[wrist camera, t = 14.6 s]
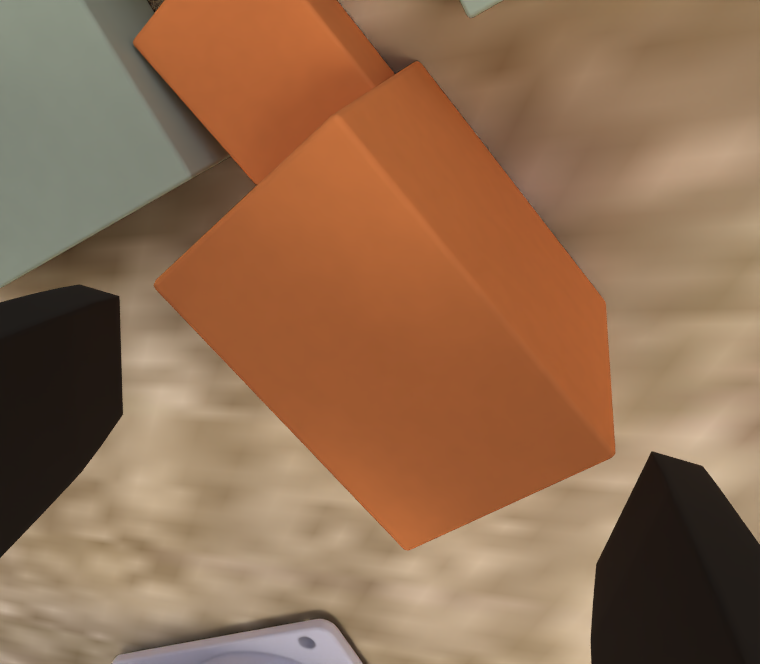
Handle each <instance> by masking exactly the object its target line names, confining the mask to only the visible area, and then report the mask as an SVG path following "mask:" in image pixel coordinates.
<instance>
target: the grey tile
mask: <svg viewBox="0 0 760 664" xmlns="http://www.w3.org/2000/svg"><path fill="white" fill-rule="evenodd" d="M501 1H503V0H460V2H461V4H462V6H463V9H464V11H465V13H466V15H467V16H468V17H469V18H473V17H475V16H477V15H479V14H480V13H482V12H484V11H486V10H487V9H489V8H491V7H492V6H494V5H496V4H498V3H499V2H501ZM153 14H154V11H153V9H152V8H151V6H150V4H149V3H148V1H147V0H0V288H2V287H4V286H5V285H7V284H9V283H10V282H12V281H14V280H16V279H17V278H19V277H21V276H23V275H24V274H26V273H28V272H30V271H31V270H33V269H35V268H37V267H38V266H40V265H42V264H44V263H45V262H47V261H49V260H51V259H52V258H54V257H56V256H58V255H59V254H61V253H63V252H65V251H66V250H68V249H70V248H72V247H73V246H75V245H77V244H79V243H80V242H82V241H84V240H86V239H87V238H89V237H91V236H93V235H94V234H96V233H98V232H100V231H101V230H103V229H105V228H107V227H108V226H110V225H112V224H114V223H115V222H117V221H119V220H121V219H122V218H124V217H126V216H127V215H129V214H131V213H133V212H134V211H136V210H138V209H140V208H141V207H143V206H145V205H147V204H148V203H150V202H152V201H154V200H155V199H157V198H159V197H161V196H162V195H164V194H166V193H168V192H169V191H171V190H173V189H175V188H176V187H178V186H180V185H182V184H183V183H185V182H187V181H189V180H190V179H192V178H194V177H196V176H197V175H199V174H201V173H203V172H204V171H206V170H208V169H209V168H211V167H213V166H215V165H216V164H218V163H220V162H222V161H223V160H225V159H227V158H229V157H230V155H229V153H228V152H227V151H226V150H225V149H224V148H223V147H222V145H221V144H220V143H219V142H218V141H217V140H216V139H215V137H214V136H213V135H212V134H211V133H210V132H209V131H208V129H207V128H206V127H205V126H204V125H203V124H202V123H201V121H200V120H199V119H198V118H197V117H196V116H195V115H194V114H193V112H192V111H191V110H190V109H189V108H188V107H187V106H186V104H185V103H184V102H183V101H182V100H181V99H180V98H179V96H178V95H177V94H176V93H175V92H174V91H173V90H172V88H171V87H170V86H169V85H168V84H167V83H166V82H165V80H164V79H163V78H162V77H161V76H160V75H159V74H158V72H157V71H156V70H155V69H154V68H153V67H152V66H151V64H150V63H149V62H148V61H147V60H146V59H145V58H144V56H143V55H142V54H141V53H140V52H139V51H138V50H137V48H136V47H135V46H134V44H133V40H134V38H135V37H136V36H137V35H138V33H139V32H140V31H141V30H142V28H143V27H144V26H145V25H146V23H147V22H148V21H149V19H150V18H151V17H152V16H153Z"/></svg>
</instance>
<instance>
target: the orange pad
mask: <svg viewBox="0 0 760 664" xmlns="http://www.w3.org/2000/svg"><path fill="white" fill-rule="evenodd" d="M133 44H134V46H135V47H136V48H137V50H138V51H139V52H140V53H141V54H142V55H143V56H144V58H145V59H146V60H147V61H148V62H149V63H150V64H151V66H152V67H153V68H154V69H155V70H156V71H157V72H158V74H159V75H160V76H161V77H162V78H163V79H164V80H165V82H166V83H167V84H168V85H169V86H170V87H171V88H172V90H173V91H174V92H175V93H176V94H177V95H178V96H179V98H180V99H181V100H182V101H183V102H184V103H185V104H186V106H187V107H188V108H189V109H190V110H191V111H192V112H193V114H194V115H195V116H196V117H197V118H198V119H199V120H200V121H201V123H202V124H203V125H204V126H205V127H206V128H207V129H208V131H209V132H210V133H211V134H212V135H213V136H214V137H215V139H216V140H217V141H218V142H219V143H220V144H221V145H222V147H223V148H224V149H225V150H226V151H227V152H228V153H229V155H230V156H231V157H232V158H233V159H234V160H235V161H236V163H237V164H238V165H239V166H240V167H241V168H242V169H243V171H244V172H245V173H246V174H247V175H248V176H249V177H250V179H251V180H252V181H253V182H254V183H255V184H256V185H257V186H256V187H255V188H253V189H252V190H251V191H250V192H249V193H248V194H247V195H246V196H245V197H244V198H243V199H242V200H241V201H240V202H239V203H237V204H236V205H235V206H234V207H233V208H232V209H231V210H230V211H229V212H228V213H227V214H226V215H225V216H224V217H223V218H221V219H220V220H219V221H218V222H217V223H216V224H215V225H214V226H213V227H212V228H211V229H210V230H209V231H208V232H207V233H205V234H204V235H203V236H202V237H201V238H200V239H199V240H198V241H197V242H196V243H195V244H194V245H193V246H192V247H191V248H189V249H188V250H187V251H186V252H185V253H184V254H183V255H182V256H181V257H180V258H179V259H178V260H177V261H176V262H175V263H173V264H172V265H171V266H170V267H169V268H168V269H167V270H166V271H165V272H164V273H163V274H162V275H161V276H160V277H159V278H157V279H156V281H155V284H154V287H155V289H156V290H157V291H158V292H159V293H160V294H161V295H162V296H163V298H164V299H165V300H166V301H167V302H168V303H169V304H170V305H171V306H172V307H173V308H174V309H175V310H176V311H177V312H178V313H179V314H180V315H181V316H182V317H183V318H184V319H185V321H186V322H187V323H188V324H189V325H190V326H191V327H192V328H193V329H194V330H195V331H196V332H197V333H198V334H199V335H200V336H201V337H202V338H203V339H204V340H205V341H206V343H207V344H208V345H209V346H210V347H211V348H212V349H213V350H214V351H215V352H216V353H217V354H218V355H219V356H220V357H221V358H222V359H223V360H224V361H225V362H226V363H227V365H228V366H229V367H230V368H231V369H232V370H233V371H234V372H235V373H236V374H237V375H238V376H239V377H240V378H241V379H242V380H243V381H244V382H245V383H246V384H247V385H248V387H249V388H250V389H251V390H252V391H253V392H254V393H255V394H256V395H257V396H258V397H259V398H260V399H261V400H262V401H263V402H264V403H265V404H266V405H267V406H268V407H269V408H270V410H271V411H272V412H273V413H274V414H275V415H276V416H277V417H278V418H279V419H280V420H281V421H282V422H283V423H284V424H285V425H286V426H287V427H288V428H289V429H290V430H291V432H292V433H293V434H294V435H295V436H296V437H297V438H298V439H299V440H300V441H301V442H302V443H303V444H304V445H305V446H306V447H307V448H308V449H309V450H310V451H311V452H312V454H313V455H314V456H315V457H316V458H317V459H318V460H319V461H320V462H321V463H322V464H323V465H324V466H325V467H326V468H327V469H328V470H329V471H330V472H331V473H332V474H333V475H334V477H335V478H336V479H337V480H338V481H339V482H340V483H341V484H342V485H343V486H344V487H345V488H346V489H347V490H348V491H349V492H350V493H351V494H352V495H353V496H354V497H355V499H356V500H357V501H358V502H359V503H360V504H361V505H362V506H363V507H364V508H365V509H366V510H367V511H368V512H369V513H370V514H371V515H372V516H373V517H374V518H375V519H376V521H377V522H378V523H379V524H380V525H381V526H382V527H383V528H384V529H385V530H386V531H387V532H388V533H389V534H390V535H391V536H392V537H393V538H394V539H395V540H396V541H397V542H398V544H399V545H400V546H401V547H402V548H403V549H405V550H411V549H413V548H415V547H417V546H420V545H422V544H424V543H426V542H428V541H431V540H433V539H435V538H437V537H439V536H441V535H444V534H446V533H448V532H450V531H452V530H455V529H457V528H459V527H461V526H463V525H466V524H468V523H470V522H472V521H474V520H476V519H479V518H481V517H483V516H485V515H487V514H490V513H492V512H494V511H496V510H498V509H500V508H503V507H505V506H507V505H509V504H511V503H514V502H516V501H518V500H520V499H522V498H525V497H527V496H529V495H531V494H533V493H535V492H538V491H540V490H542V489H544V488H546V487H549V486H551V485H553V484H555V483H557V482H559V481H562V480H564V479H566V478H568V477H570V476H573V475H575V474H577V473H579V472H581V471H584V470H586V469H588V468H590V467H592V466H594V465H597V464H599V463H601V462H603V461H605V460H608V459H610V458H612V457H613V456H614V455H615V439H614V424H613V408H612V393H611V378H610V362H609V347H608V332H607V316H606V304H605V301H604V299H603V298H602V297H601V296H600V294H599V293H598V292H597V290H596V289H595V288H594V287H593V285H592V284H591V283H590V281H589V280H588V279H587V277H586V276H585V275H584V274H583V272H582V271H581V270H580V268H579V267H578V266H577V265H576V263H575V262H574V261H573V259H572V258H571V257H570V255H569V254H568V253H567V252H566V250H565V249H564V248H563V246H562V245H561V244H560V243H559V241H558V240H557V239H556V237H555V236H554V235H553V233H552V232H551V231H550V230H549V228H548V227H547V226H546V224H545V223H544V222H543V221H542V219H541V218H540V217H539V215H538V214H537V213H536V211H535V210H534V209H533V208H532V206H531V205H530V204H529V202H528V201H527V200H526V198H525V197H524V196H523V195H522V193H521V192H520V191H519V189H518V188H517V187H516V186H515V184H514V183H513V182H512V180H511V179H510V178H509V176H508V175H507V174H506V173H505V171H504V170H503V169H502V167H501V166H500V165H499V164H498V162H497V161H496V160H495V158H494V157H493V156H492V154H491V153H490V152H489V151H488V149H487V148H486V147H485V145H484V144H483V143H482V142H481V140H480V139H479V138H478V136H477V135H476V134H475V132H474V131H473V130H472V129H471V127H470V126H469V125H468V123H467V122H466V121H465V120H464V118H463V117H462V116H461V114H460V113H459V112H458V110H457V109H456V108H455V107H454V105H453V104H452V103H451V101H450V100H449V99H448V98H447V96H446V95H445V94H444V92H443V91H442V90H441V88H440V87H439V86H438V85H437V83H436V82H435V81H434V79H433V78H432V77H431V76H430V74H429V73H428V72H427V70H426V69H425V68H424V66H423V65H422V64H421V63H420V62H418V61H416V62H413V63H412V64H410V65H409V66H407V67H406V68H404V69H403V70H401V71H400V72H398V73H396V74H394V72H393V71H392V70H391V69H390V67H389V66H388V65H387V64H386V62H385V61H384V60H383V58H382V57H381V56H380V55H379V53H378V52H377V51H376V50H375V48H374V47H373V46H372V44H371V43H370V42H369V41H368V39H367V38H366V37H365V36H364V34H363V33H362V32H361V30H360V29H359V28H358V27H357V25H356V24H355V23H354V22H353V20H352V19H351V18H350V16H349V15H348V14H347V13H346V11H345V10H344V9H343V8H342V6H341V5H340V4H339V2H338V1H337V0H164V2H163V3H162V4H161V5H160V7H159V8H158V9H157V11H156V12H155V13H154V14H153V16H152V17H151V18H150V19H149V21H148V22H147V23H146V25H145V26H144V27H143V28H142V30H141V31H140V32H139V33H138V35H137V36H136V37H135V38H134V40H133Z"/></svg>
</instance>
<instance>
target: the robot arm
mask: <svg viewBox="0 0 760 664" xmlns="http://www.w3.org/2000/svg"><path fill="white" fill-rule="evenodd" d="M122 415H123V402H122V368H121V334H120V300H119V296H117V295H113V294H110V293H106V292H103V291H100V290H96V289H93V288H89V287H86V286H82V285H74V286H69V287H63V288H58V289H53V290H48V291H44V292H40V293H35V294H31V295H27V296H23V297H19V298H16V299H12V300H8V301H4V302H0V557H1V556H2V555H3V554H4V553H5V552H6V551H7V550H8V549H9V548H10V547H11V546H12V545H13V544H14V543H15V542H16V541H17V540H18V539H19V538H20V537H21V536H22V535H23V534H24V532H25V531H26V530H27V529H28V528H29V527H30V526H31V525H32V524H33V523H34V522H35V521H36V520H37V519H38V518H39V517H40V516H41V515H42V514H43V513H44V512H45V511H46V509H47V508H48V507H49V506H50V505H51V504H52V503H53V502H54V501H55V500H56V499H57V498H58V497H59V496H60V495H61V494H62V492H63V491H64V490H65V489H66V488H67V487H68V486H69V485H70V484H71V483H72V482H73V481H74V480H75V478H76V477H77V476H78V475H79V474H80V473H81V472H82V471H83V469H84V468H85V467H86V465H87V464H88V463H89V461H90V460H91V459H92V457H93V456H94V455H95V453H96V452H97V451H98V449H99V448H100V447H101V445H102V444H103V442H104V441H105V440H106V438H107V437H108V435H109V434H110V432H111V431H112V429H113V428H114V427H115V425H116V424H117V422H118V421H119V419H120V418H121V416H122ZM591 663H592V664H760V544H759V543H758V542H757V540H756V539H755V537H754V536H753V535H752V533H751V532H750V530H749V529H748V528H747V526H746V525H745V523H744V522H743V521H742V519H741V518H740V516H739V515H738V513H737V512H736V511H735V509H734V508H733V506H732V505H731V504H730V502H729V501H728V499H727V498H726V497H725V495H724V494H723V492H722V491H721V490H720V488H719V487H718V486H717V484H716V483H715V482H714V480H713V479H712V477H711V476H710V475H709V474H708V472H707V471H706V470H705V469H704V467H703V466H700V465H697V464H694V463H690V462H687V461H683V460H680V459H676V458H673V457H670V456H666V455H663V454H659V453H656V452H651V454H650V456H649V458H648V460H647V462H646V464H645V466H644V468H643V470H642V472H641V474H640V476H639V478H638V480H637V482H636V484H635V486H634V489H633V491H632V493H631V495H630V497H629V499H628V501H627V503H626V505H625V507H624V509H623V511H622V513H621V515H620V517H619V519H618V521H617V523H616V525H615V527H614V529H613V531H612V533H611V535H610V538H609V540H608V542H607V544H606V546H605V548H604V550H603V552H602V554H601V556H600V558H599V560H598V562H597V564H596V575H595V587H594V598H593V611H592V627H591ZM111 664H363V663H362V662H361V660H360V659H359V657H358V656H357V655H356V653H355V652H354V650H353V649H352V648H351V646H350V645H349V643H348V642H347V641H346V639H345V638H344V636H343V635H342V634H341V632H340V631H339V629H338V628H337V627H336V626H335V625H334V624H333V623H332V622H330V621H328V620H325V619H313V620H308V621H302V622H297V623H291V624H286V625H280V626H274V627H269V628H263V629H258V630H252V631H247V632H241V633H236V634H230V635H225V636H219V637H214V638H208V639H203V640H197V641H191V642H186V643H180V644H175V645H169V646H164V647H158V648H153V649H147V650H142V651H136V652H131V653H125V654H119V655H117V656H116V657H115V659H114V660H113V662H112V663H111Z"/></svg>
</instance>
